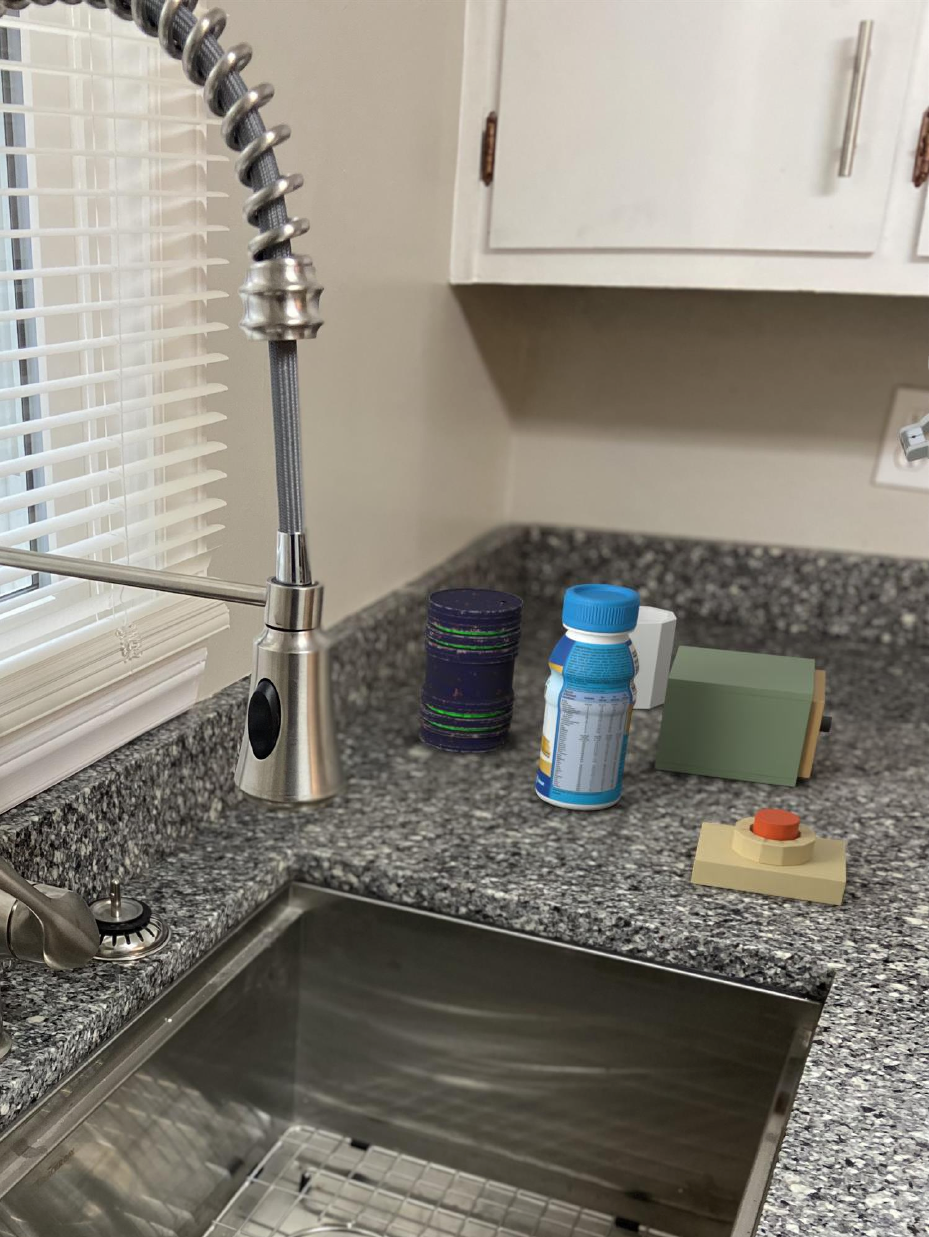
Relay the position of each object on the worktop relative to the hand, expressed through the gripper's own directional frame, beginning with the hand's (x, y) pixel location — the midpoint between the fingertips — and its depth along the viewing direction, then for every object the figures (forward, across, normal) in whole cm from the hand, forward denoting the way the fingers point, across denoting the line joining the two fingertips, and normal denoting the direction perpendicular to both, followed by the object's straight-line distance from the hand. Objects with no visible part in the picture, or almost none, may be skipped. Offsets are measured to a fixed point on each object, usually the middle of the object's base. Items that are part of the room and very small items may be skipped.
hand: (903, 445), depth 140 cm
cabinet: (+22, -21, -15) cm, 34 cm away
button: (+21, -40, +7) cm, 46 cm away
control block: (+22, -42, +5) cm, 48 cm away
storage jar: (+47, -14, -9) cm, 50 cm away
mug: (+32, -4, -26) cm, 41 cm away
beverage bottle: (+37, -28, -2) cm, 46 cm away
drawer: (+19, -21, -15) cm, 32 cm away
